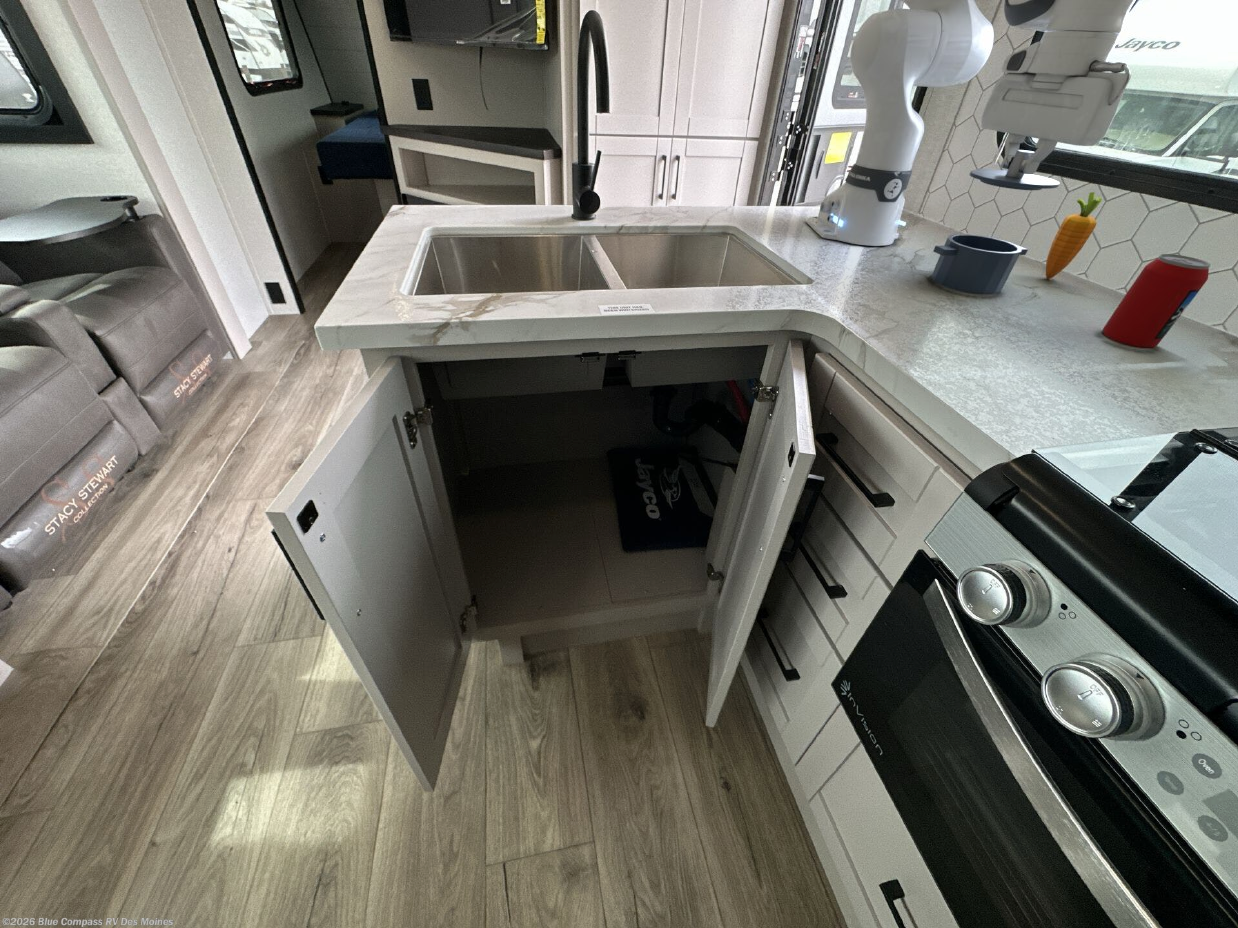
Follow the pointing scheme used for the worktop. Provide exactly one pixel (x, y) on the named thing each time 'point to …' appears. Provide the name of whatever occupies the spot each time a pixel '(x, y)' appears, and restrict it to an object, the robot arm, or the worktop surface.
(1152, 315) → the beverage can
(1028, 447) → the worktop surface
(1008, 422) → the worktop surface
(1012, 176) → the lid
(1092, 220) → the carrot
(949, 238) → the pot
